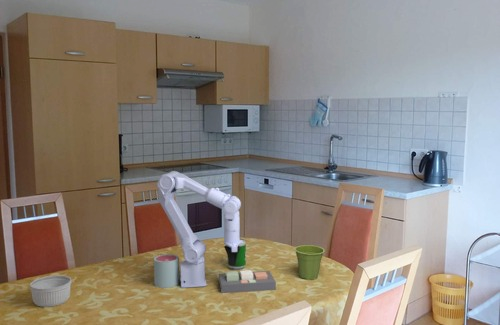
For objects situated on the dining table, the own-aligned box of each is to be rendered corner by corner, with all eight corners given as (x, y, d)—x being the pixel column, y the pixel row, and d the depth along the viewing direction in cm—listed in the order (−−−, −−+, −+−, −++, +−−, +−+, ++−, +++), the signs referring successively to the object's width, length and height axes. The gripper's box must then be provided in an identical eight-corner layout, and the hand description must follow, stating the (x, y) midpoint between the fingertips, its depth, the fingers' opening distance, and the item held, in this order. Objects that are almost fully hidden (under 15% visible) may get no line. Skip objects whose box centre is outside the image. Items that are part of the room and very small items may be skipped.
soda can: (245, 270, 189) (245, 242, 188) (227, 270, 189) (227, 242, 188) (246, 264, 196) (246, 237, 195) (228, 264, 197) (228, 237, 195)
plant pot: (309, 284, 174) (310, 256, 173) (287, 275, 183) (288, 248, 182) (330, 277, 182) (330, 250, 180) (308, 269, 191) (308, 243, 189)
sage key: (226, 284, 170) (226, 275, 169) (225, 280, 174) (225, 271, 174) (238, 284, 170) (238, 275, 170) (237, 279, 175) (237, 271, 174)
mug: (174, 288, 170) (173, 262, 169) (150, 286, 172) (150, 261, 171) (186, 275, 183) (186, 251, 182) (164, 274, 185) (164, 250, 184)
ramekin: (60, 290, 168) (59, 272, 168) (79, 299, 160) (78, 280, 159) (23, 301, 158) (22, 282, 157) (42, 312, 150) (41, 292, 149)
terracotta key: (256, 285, 172) (256, 276, 171) (254, 281, 176) (254, 272, 175) (267, 284, 172) (267, 275, 172) (265, 280, 177) (265, 271, 176)
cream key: (241, 284, 171) (241, 274, 170) (240, 279, 175) (239, 270, 174) (253, 283, 171) (253, 274, 171) (251, 279, 176) (251, 270, 175)
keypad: (221, 293, 166) (221, 284, 165) (218, 281, 178) (218, 273, 177) (275, 289, 169) (275, 281, 169) (269, 278, 181) (269, 270, 180)
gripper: (245, 234, 163) (245, 271, 165) (239, 224, 178) (239, 258, 179) (225, 235, 162) (226, 272, 164) (221, 225, 177) (222, 259, 178)
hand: (232, 265), depth 171 cm, fingers closed
